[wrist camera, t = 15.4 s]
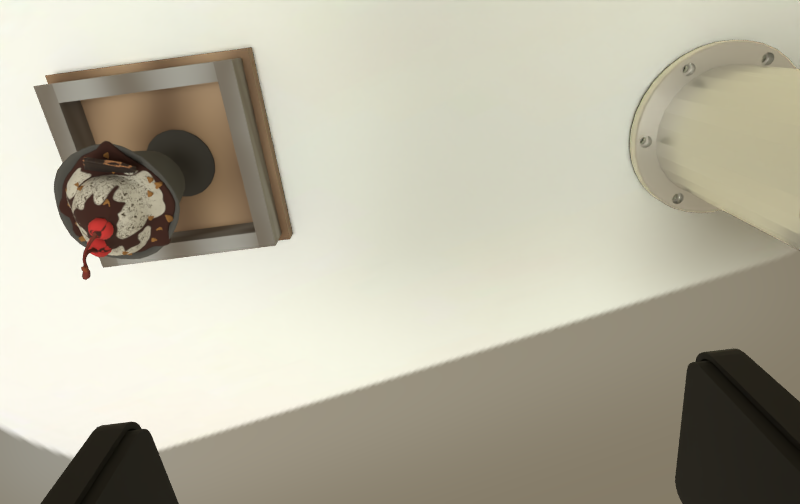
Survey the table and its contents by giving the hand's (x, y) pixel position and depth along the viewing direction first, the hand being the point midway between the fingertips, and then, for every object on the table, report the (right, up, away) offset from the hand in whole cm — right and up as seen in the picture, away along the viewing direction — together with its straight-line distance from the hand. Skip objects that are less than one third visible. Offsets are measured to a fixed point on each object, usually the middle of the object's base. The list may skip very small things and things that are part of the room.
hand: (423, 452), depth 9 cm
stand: (-17, +11, +30) cm, 36 cm away
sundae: (-16, +10, +29) cm, 35 cm away
